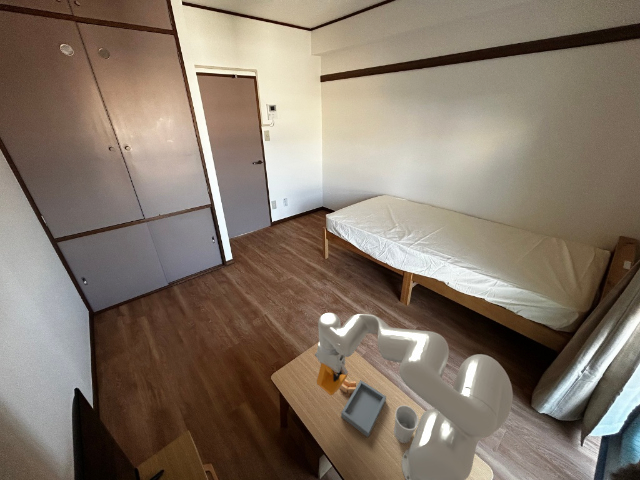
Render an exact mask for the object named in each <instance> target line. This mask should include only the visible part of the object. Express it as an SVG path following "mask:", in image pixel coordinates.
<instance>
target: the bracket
mask: <svg viewBox="0 0 640 480" xmlns="http://www.w3.org/2000/svg"><path fill="white" fill-rule="evenodd" d="M348 373H349V372H348ZM348 373H347V374H346V375H343V374H342V375H340V377H339V379H337V380H336V381H334V380H333V375H334V371H333V370H332V369H331V368H329V367H328V366H326V365H324V364H323V363H320V367H319V372H318V375H317V378H316V384H317V385H318V386H319V387H320V388H321V389H322V390H324V391H325V392H326V393H327V394H328V395H329V396H333V395H334V394H335V393H337V392H338V390H340V388H339V387H340V386H341V385H342V384H343V382H344V381H345V379H346V380H347V377H348Z"/></svg>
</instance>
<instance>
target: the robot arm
mask: <svg viewBox="0 0 640 480" xmlns="http://www.w3.org/2000/svg"><path fill="white" fill-rule="evenodd" d="M341 322H342V321H341V319H340V317H339V316H338V315H337V314H336V313H333V312H326V313H323V314H322V315H321V316H319V318H318V322H317V323H318V325H317V327H318V344H317V349H316V352H315V354H314V356H315V358H316V359H317V360H318V362H319V363H320V364H321V363H323V364H324V365H326V366H328V367H329V368H331V369H332V370H333V371H334V375H333V380H334V381H336V380H337V379H339V377H340V375H342V374H343V375H346V374H347V373H349V371H348V370H347V368H346V366H345V365H346V358H349V357H350V356H352V355H353V354H354V352H355V351H356V350H357V349H358V346H360V344H361V343H362V341H363V340H364V338H366V336H367V335H368V334H371V335H377V349H378V353H379V355H380V356H381V357H382V358H383V359H384V360H386V361H389V362H394V363H400V365H399V368H398V369H399V370H398V372H399V376H400V377H401V380H402V381H403V383H404V384H405V385H406V386H407V387H408V388H409V389H410V390H411V392H412V391H413V393H414V394H416V395H417V396H418V397H419V398H420V399H422V400H423V401H424V402H426V403H427V404H428V405H430V406H431V407H432V408H429V409H427V410H426V411H424V412H423V413H422V415H421V416H420V419H419V423H418V426H417V428H416V429H415V434H414V437H413V439H412V442H411V444H410V447H409V448H407V449H406V450H405V451H404V453H403V455H402V458H401V469H402V470H401V471H402V473H403V476H404V479H405V480H467V479H468V478H469V476H470V474H471V472H472V469H473V464H474V459H475V455H476V454H475V453H476V450H477V446H478V443H479V441H480V440H482V439H486V438H490V436H492V435H493V434H494V433H496V432H497V431H499V429H501V427H503V425H504V424H505V423H506V421H507V419H508V418H509V415H510V413H511V409H512V406H513V400H514V399H513V398H514V396H513V395H514V394H513V387H512V382H511V381H510V377H509V375H508V374H507V372H506V370H505V369H504V368H503V366H502V365H501V364H500V363H499V361H497V360H496V359H494V358H493V357H491V356H489V355H487V354H482V353H480V354H473V355H470V356H469V357H467V358H466V359H465V360H464V361H463V362H462V363H461V365H460V367H459V369H458V371H457V373H456V378H455V381H454V383H453V386H451V385H449V384H448V383H447V382H446V381H445V380H443V375H444V372H445V369H446V366H447V365H448V364H447V363H448V360H449V354H450V353H449V352H450V348H449V345H448V342H447V340H446V338H444V337H443V336H442V335H441V334H439V333H437V332H435V331H430V330H429V331H428V330H420V329H419V330H418V329H409V328H398V327H390V326H389V324H387V323H386V322H385V320H383V319H381V317H378V316H377V315H374V314H369V313H367V314H366V313H357V314H353V315H352V316H350V317H349V318H348V319H346V322H344V324H343V325H341V324H342V323H341ZM347 375H348V374H347Z"/></svg>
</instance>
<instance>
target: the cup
mask: <svg viewBox="0 0 640 480" xmlns="http://www.w3.org/2000/svg"><path fill="white" fill-rule="evenodd" d="M394 412H395V413H394V414H395V415H394V428H393V434H394V437H395V438H396V439H397V440H398V441H399V442H400V443H402V444H407V443H409V442H410V441H411V439H412V436H413V434H414V432H416V430H417V427H418V424H419V422H420V419H419V417H418V416H419V415H418V414H417V412H416V411H415V410H414V409H413V408H412V406H409V405H406V404H405V405H404V404H401V405H399V406H397V408H396V409H395V411H394Z"/></svg>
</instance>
